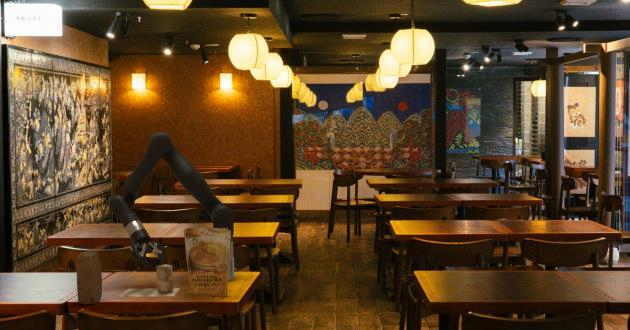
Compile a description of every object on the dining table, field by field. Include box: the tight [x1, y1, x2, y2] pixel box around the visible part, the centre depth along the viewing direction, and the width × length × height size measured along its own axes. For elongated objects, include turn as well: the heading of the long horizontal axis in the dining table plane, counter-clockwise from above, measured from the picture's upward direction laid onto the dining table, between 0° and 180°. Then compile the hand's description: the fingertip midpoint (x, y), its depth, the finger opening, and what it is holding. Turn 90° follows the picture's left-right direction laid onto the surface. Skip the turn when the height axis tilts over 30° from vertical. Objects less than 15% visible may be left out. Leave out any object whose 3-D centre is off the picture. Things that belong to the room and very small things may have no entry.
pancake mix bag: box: [183, 227, 231, 298], centre depth 308 cm, size 7×19×28 cm, turn 86°
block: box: [76, 250, 103, 305], centre depth 302 cm, size 11×8×20 cm
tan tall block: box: [156, 264, 174, 294], centre depth 310 cm, size 5×5×11 cm
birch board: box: [119, 287, 181, 298], centre depth 311 cm, size 22×14×2 cm, turn 89°
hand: (155, 263), depth 313 cm, fingers open, 8 cm apart
